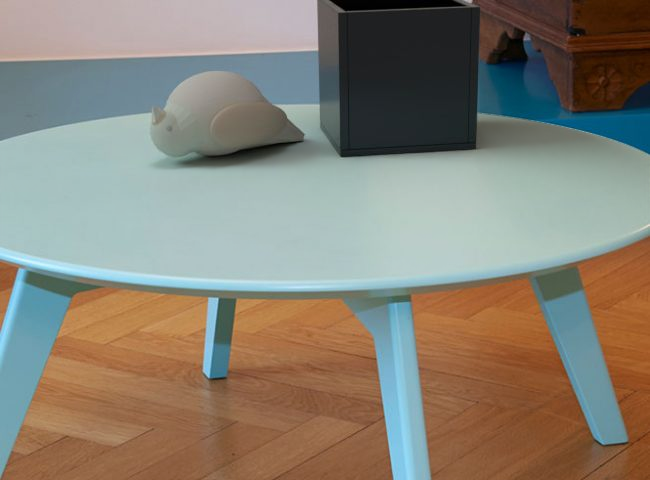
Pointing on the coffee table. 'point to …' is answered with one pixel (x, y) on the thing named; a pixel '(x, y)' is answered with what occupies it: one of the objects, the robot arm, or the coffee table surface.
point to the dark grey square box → (398, 75)
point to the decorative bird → (218, 117)
